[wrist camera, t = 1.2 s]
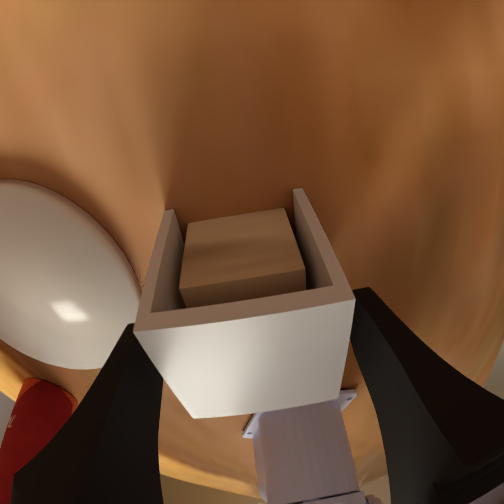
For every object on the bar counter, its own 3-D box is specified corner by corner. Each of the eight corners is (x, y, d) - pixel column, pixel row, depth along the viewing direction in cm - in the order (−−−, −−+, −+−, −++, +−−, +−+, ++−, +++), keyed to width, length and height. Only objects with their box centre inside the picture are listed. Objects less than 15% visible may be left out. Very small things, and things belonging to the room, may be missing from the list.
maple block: (289, 278, 15) (306, 344, 12) (208, 291, 15) (208, 358, 12) (283, 206, 13) (305, 268, 10) (188, 222, 13) (178, 288, 10)
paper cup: (0, 366, 19) (-35, 503, 8) (62, 374, 19) (33, 540, 8) (43, 409, 24) (24, 525, 13) (102, 416, 24) (91, 549, 13)
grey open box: (306, 289, 16) (337, 398, 11) (197, 305, 16) (193, 418, 11) (302, 187, 12) (355, 298, 7) (164, 210, 12) (132, 332, 7)
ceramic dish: (147, 370, 19) (145, 382, 18) (-9, 335, 17) (-14, 345, 16) (143, 190, 12) (138, 201, 11) (-66, 176, 9) (-77, 185, 8)
